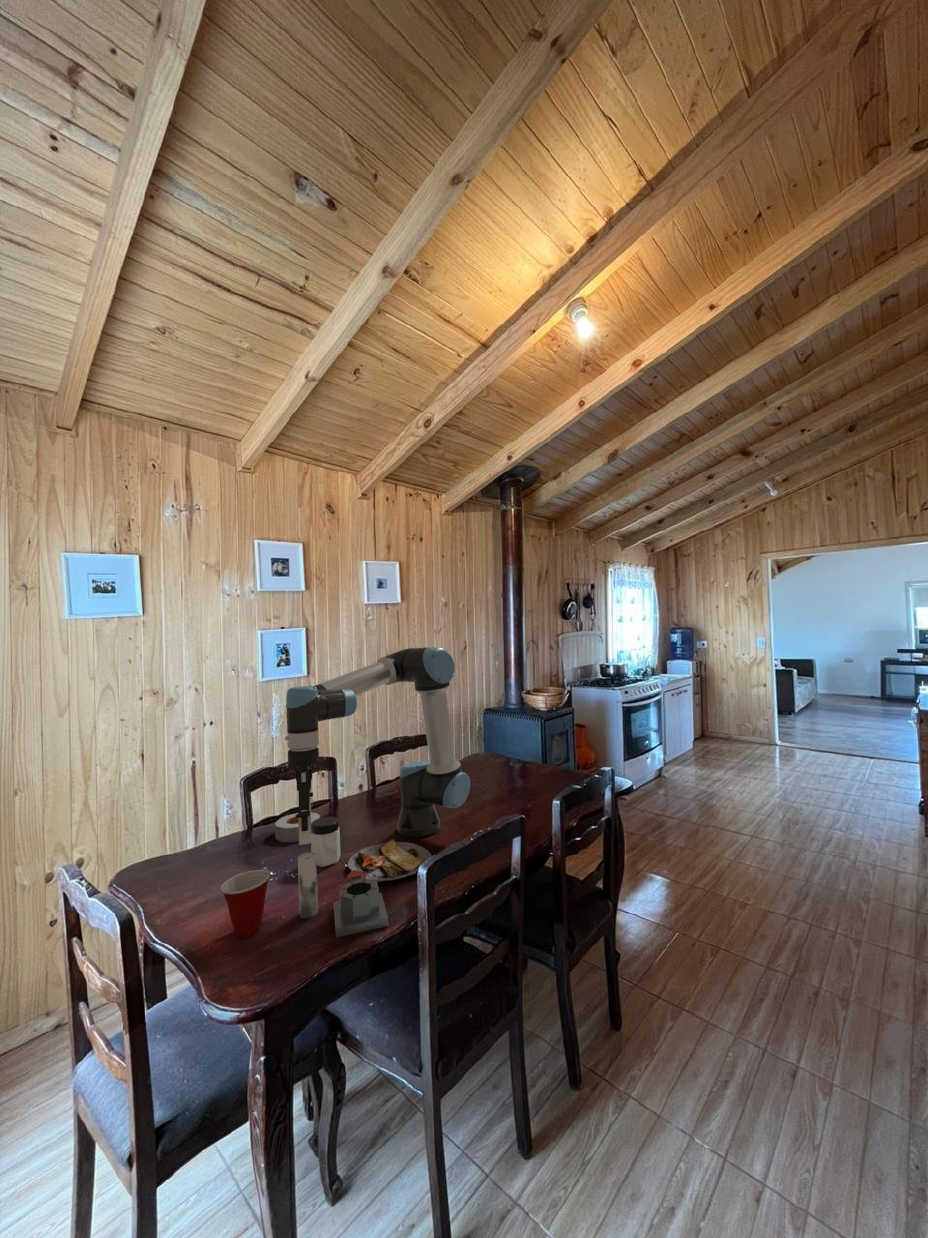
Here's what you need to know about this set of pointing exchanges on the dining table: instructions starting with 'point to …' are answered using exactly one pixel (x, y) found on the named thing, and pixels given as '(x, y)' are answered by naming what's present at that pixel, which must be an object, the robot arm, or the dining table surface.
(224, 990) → the dining table surface
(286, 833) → the tape roll
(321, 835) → the jar
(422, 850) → the food plate
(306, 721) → the robot arm
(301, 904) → the pipe stub
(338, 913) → the valve body
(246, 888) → the plastic cup
